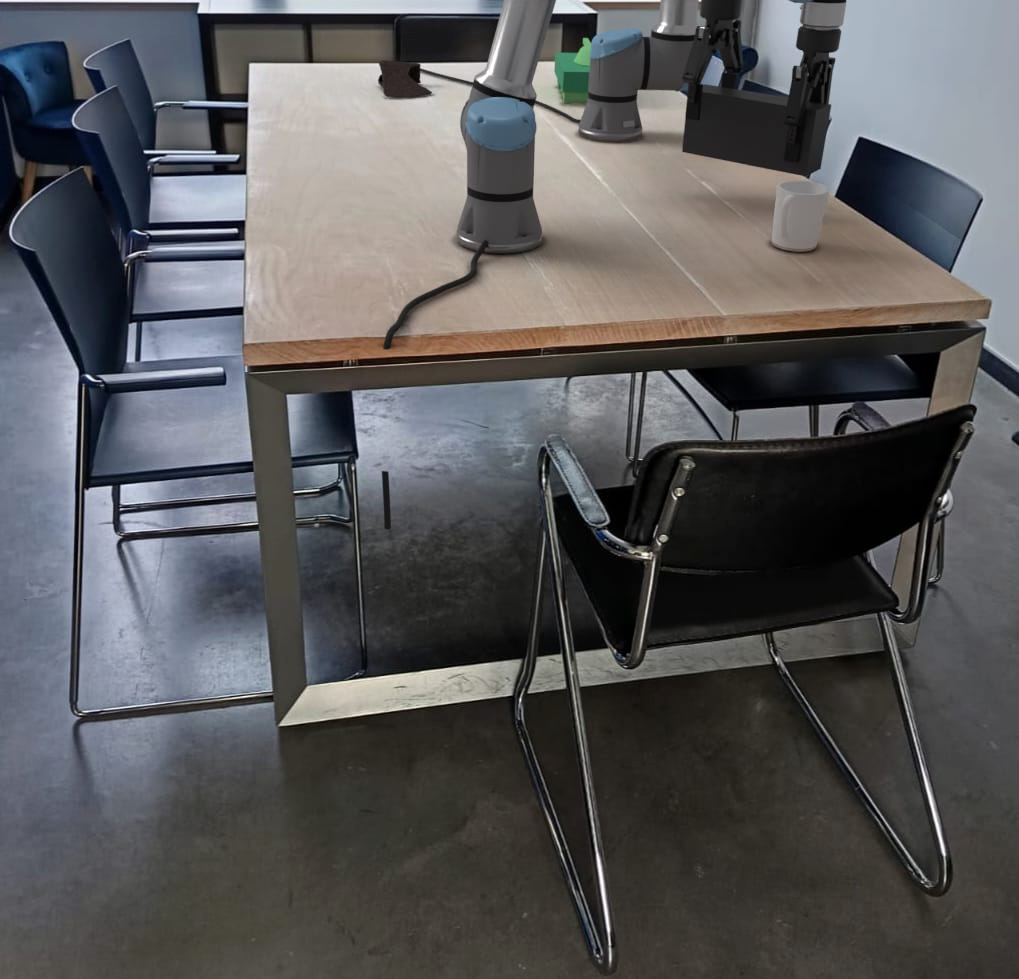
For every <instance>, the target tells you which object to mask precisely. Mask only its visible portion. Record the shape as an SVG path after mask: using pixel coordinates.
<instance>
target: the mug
mask: <svg viewBox="0 0 1019 979" xmlns="http://www.w3.org/2000/svg"><path fill="white" fill-rule="evenodd" d="M829 192H830V188H829V187H828V186H827V185H825V184H823V183H819V182H815V181H811V180H802V179H801V180H800V179H791V180H789V179H788V180H783V181H780V182H778V183H777V185H776V192H775V202H774V212H773V220H772V221H773V223H772V230H771V231H772V232H771V241H770V242H771V244H772V245H773V246H774V247H775V248H778V249H779V250H783V251H788V252H796V253H797V252H798V253H799V252H800V253H802V252H811V251H813V250H815V249H816V248H817V246H818V242H819V237H820V233H821V229H822V224H823V220H824V215H825V212H826V206H827V202H828V197H829Z"/></svg>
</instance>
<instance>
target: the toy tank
mask: <svg viewBox="0 0 1019 979" xmlns="http://www.w3.org/2000/svg"><path fill="white" fill-rule="evenodd" d="M591 43H592V41H590V39H589V37H583V38H582V45H583V46H581V47H580V48H579V50H578V52H554V74H555V76H556V80H557V87H558V88H560V92H561V94H562V103H563V104H587V101H588V87H589V71H590V59H589V55H590V51H591Z"/></svg>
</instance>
